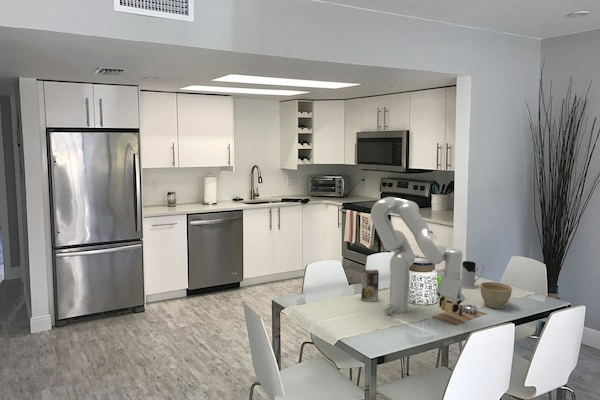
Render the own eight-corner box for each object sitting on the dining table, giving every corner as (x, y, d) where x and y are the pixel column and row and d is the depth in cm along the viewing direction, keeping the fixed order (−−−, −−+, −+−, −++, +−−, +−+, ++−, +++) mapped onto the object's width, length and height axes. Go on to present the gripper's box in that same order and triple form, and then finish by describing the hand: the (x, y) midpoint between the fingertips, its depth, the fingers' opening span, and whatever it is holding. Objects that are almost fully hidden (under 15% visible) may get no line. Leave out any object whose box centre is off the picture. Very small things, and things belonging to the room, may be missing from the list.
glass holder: (457, 284, 311) (458, 261, 309) (478, 284, 314) (480, 260, 312) (464, 289, 303) (466, 264, 301) (486, 288, 305) (487, 264, 303)
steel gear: (471, 314, 255) (472, 309, 255) (459, 310, 261) (459, 305, 261) (479, 311, 260) (480, 306, 260) (467, 307, 266) (467, 302, 265)
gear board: (455, 328, 241) (456, 315, 240) (431, 320, 252) (431, 307, 251) (486, 316, 258) (487, 304, 257) (462, 308, 269) (462, 296, 268)
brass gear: (450, 313, 245) (451, 305, 244) (437, 308, 250) (438, 300, 249) (459, 310, 249) (460, 302, 249) (446, 305, 255) (447, 298, 254)
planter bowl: (482, 310, 268) (483, 290, 266) (476, 300, 284) (477, 281, 282) (514, 312, 266) (516, 292, 264) (506, 301, 281) (507, 282, 280)
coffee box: (377, 297, 284) (378, 269, 282) (378, 301, 278) (379, 273, 276) (361, 297, 285) (362, 269, 283) (361, 300, 279) (362, 272, 276)
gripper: (432, 270, 251) (429, 305, 254) (463, 280, 238) (459, 316, 241) (441, 268, 256) (438, 302, 259) (472, 277, 243) (468, 313, 245)
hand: (448, 308), depth 250 cm, fingers closed on brass gear, 7 cm apart
